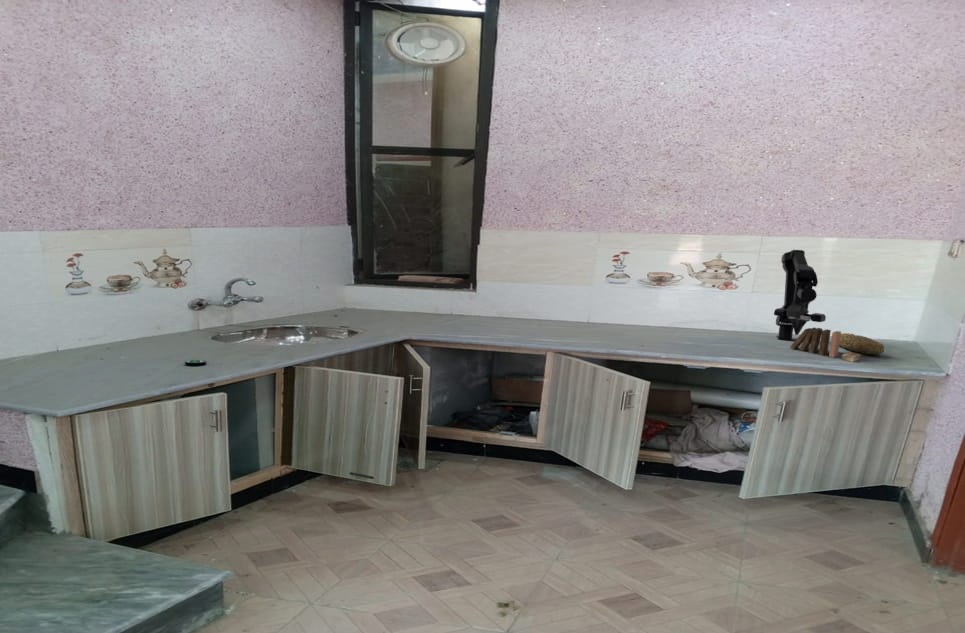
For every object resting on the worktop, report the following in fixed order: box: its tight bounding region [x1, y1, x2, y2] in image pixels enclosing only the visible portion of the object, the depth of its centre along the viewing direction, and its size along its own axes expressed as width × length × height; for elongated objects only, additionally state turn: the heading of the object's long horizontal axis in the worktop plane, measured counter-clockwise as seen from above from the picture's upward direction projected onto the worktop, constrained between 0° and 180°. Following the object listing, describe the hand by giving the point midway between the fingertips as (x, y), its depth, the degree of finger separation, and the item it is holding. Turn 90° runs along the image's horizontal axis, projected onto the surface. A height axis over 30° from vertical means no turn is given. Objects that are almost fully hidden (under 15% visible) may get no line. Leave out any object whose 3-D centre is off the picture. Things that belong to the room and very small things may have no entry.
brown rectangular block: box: [789, 327, 812, 350], centre depth 248 cm, size 2×5×10 cm, turn 132°
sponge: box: [839, 333, 885, 355], centre depth 248 cm, size 13×8×20 cm
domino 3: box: [808, 327, 824, 354], centre depth 244 cm, size 2×5×10 cm, turn 132°
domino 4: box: [818, 328, 832, 356], centre depth 241 cm, size 2×5×10 cm, turn 131°
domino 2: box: [798, 327, 818, 352], centre depth 246 cm, size 2×5×10 cm, turn 132°
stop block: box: [841, 351, 861, 363], centre depth 235 cm, size 4×8×2 cm, turn 131°
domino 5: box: [828, 330, 842, 358], centre depth 238 cm, size 2×5×10 cm, turn 131°
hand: (796, 334), depth 249 cm, fingers closed
